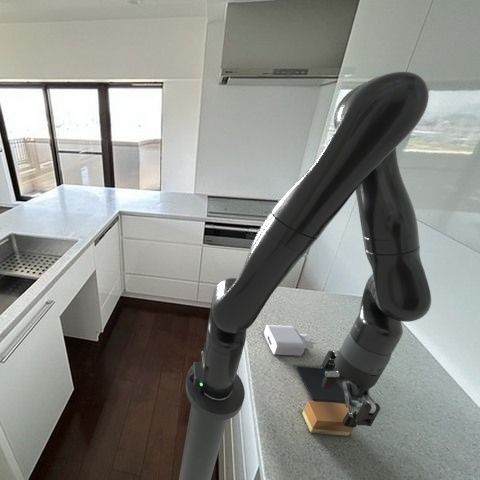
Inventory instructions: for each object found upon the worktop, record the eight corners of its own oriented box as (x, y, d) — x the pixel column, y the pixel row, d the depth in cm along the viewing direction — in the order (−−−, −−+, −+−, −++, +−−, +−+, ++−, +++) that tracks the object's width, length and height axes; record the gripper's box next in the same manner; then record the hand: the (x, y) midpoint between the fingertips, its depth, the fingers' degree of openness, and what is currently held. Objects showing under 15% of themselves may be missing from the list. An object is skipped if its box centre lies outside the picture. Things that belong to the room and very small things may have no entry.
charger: (320, 358, 81) (273, 355, 81) (305, 335, 90) (263, 333, 89) (325, 347, 79) (277, 345, 79) (309, 325, 87) (266, 323, 87)
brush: (310, 432, 61) (317, 420, 59) (302, 413, 65) (307, 401, 63) (348, 435, 61) (356, 423, 59) (337, 416, 65) (344, 403, 63)
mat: (312, 400, 69) (313, 398, 68) (296, 367, 78) (296, 366, 77) (372, 404, 68) (373, 403, 68) (349, 371, 77) (349, 370, 77)
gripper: (325, 330, 60) (305, 376, 67) (367, 388, 47) (338, 438, 54) (357, 331, 59) (334, 378, 66) (409, 390, 47) (374, 440, 54)
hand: (336, 405), depth 60 cm, fingers open, 8 cm apart
